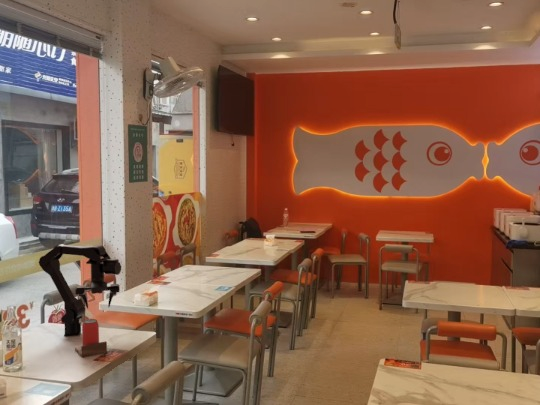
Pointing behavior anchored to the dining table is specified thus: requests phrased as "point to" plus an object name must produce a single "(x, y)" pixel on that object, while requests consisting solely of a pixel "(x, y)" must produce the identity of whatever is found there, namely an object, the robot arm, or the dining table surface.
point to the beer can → (90, 332)
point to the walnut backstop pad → (92, 349)
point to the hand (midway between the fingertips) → (98, 307)
